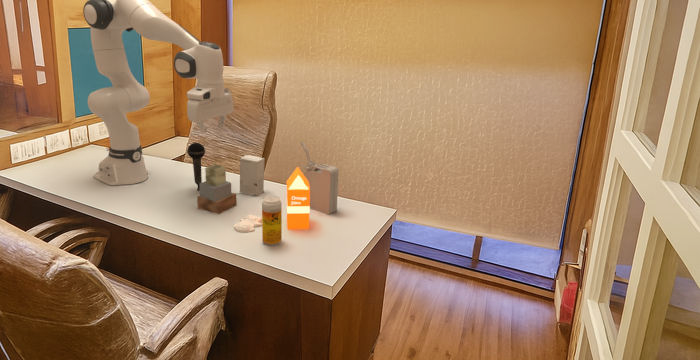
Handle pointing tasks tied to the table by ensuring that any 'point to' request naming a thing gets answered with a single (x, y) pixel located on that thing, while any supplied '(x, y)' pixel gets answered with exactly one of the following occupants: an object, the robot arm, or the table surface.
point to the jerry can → (321, 185)
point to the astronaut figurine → (248, 224)
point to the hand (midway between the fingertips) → (212, 129)
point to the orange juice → (298, 201)
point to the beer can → (271, 220)
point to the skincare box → (251, 175)
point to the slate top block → (215, 191)
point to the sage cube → (215, 175)
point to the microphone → (196, 160)
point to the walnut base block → (217, 204)
